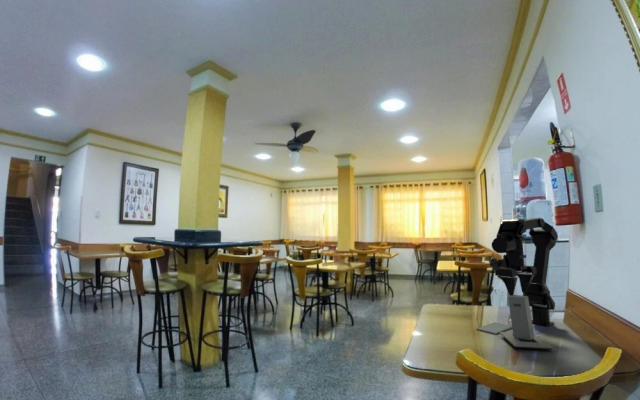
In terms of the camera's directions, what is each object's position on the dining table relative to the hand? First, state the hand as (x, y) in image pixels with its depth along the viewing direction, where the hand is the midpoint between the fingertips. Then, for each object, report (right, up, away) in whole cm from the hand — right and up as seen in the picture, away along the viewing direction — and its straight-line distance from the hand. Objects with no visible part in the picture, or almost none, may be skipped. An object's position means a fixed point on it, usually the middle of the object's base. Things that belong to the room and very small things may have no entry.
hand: (517, 294), depth 116 cm
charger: (-8, -10, -15) cm, 19 cm away
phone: (-8, -14, +1) cm, 16 cm away
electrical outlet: (-8, -12, -16) cm, 21 cm away
